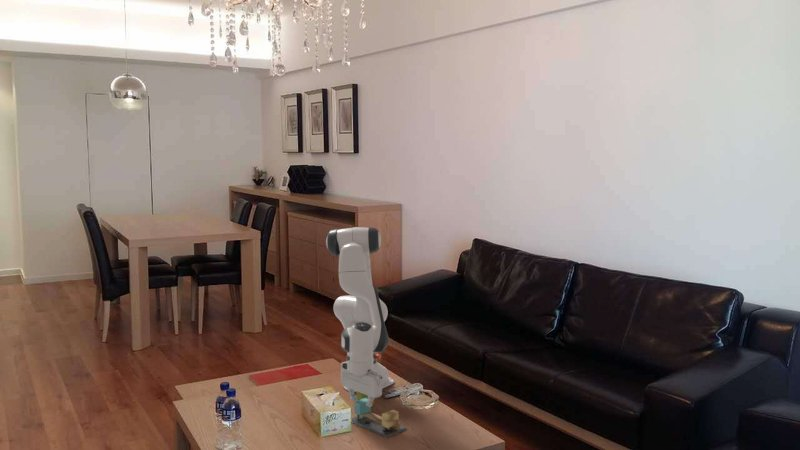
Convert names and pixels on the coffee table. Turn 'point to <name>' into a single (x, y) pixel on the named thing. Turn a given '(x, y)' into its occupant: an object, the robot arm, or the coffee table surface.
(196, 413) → the coffee table surface
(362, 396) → the plant pot
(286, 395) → the coffee table surface
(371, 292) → the robot arm
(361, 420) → the steel plate
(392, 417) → the wooden mallet
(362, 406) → the block
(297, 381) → the coffee table surface
